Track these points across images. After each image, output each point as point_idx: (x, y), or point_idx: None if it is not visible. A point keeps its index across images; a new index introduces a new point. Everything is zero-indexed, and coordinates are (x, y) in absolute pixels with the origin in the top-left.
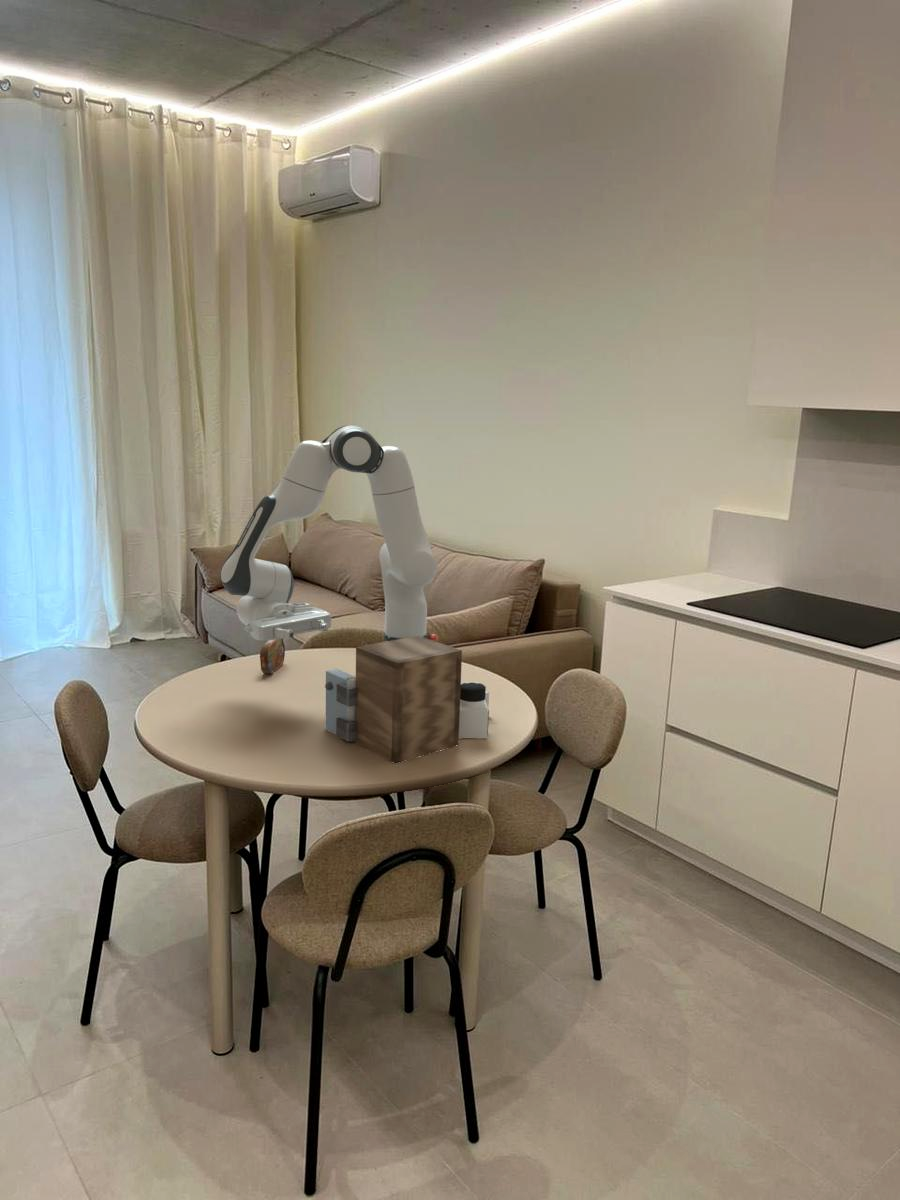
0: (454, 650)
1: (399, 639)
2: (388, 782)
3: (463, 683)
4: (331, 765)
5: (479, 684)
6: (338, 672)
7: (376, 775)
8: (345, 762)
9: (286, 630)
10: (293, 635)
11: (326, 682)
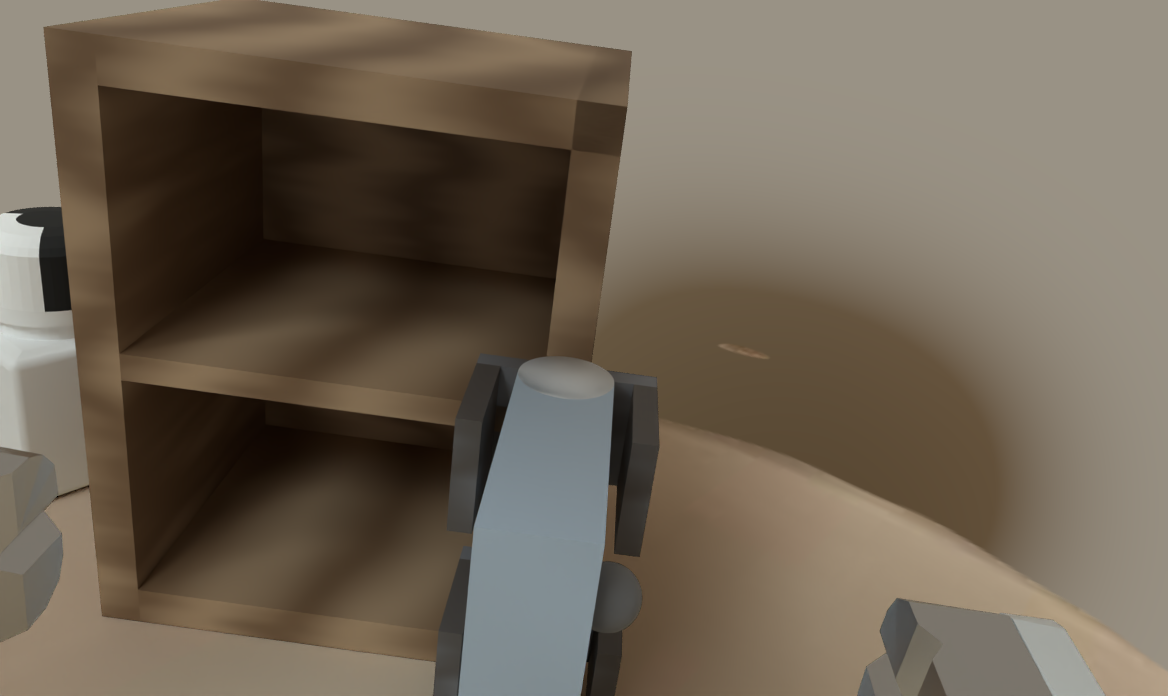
0: (263, 3)
1: (238, 52)
2: (692, 435)
3: (49, 237)
4: (801, 591)
5: (35, 210)
6: (541, 474)
7: (694, 470)
8: (732, 576)
9: (1070, 688)
10: (866, 671)
11: (590, 629)
